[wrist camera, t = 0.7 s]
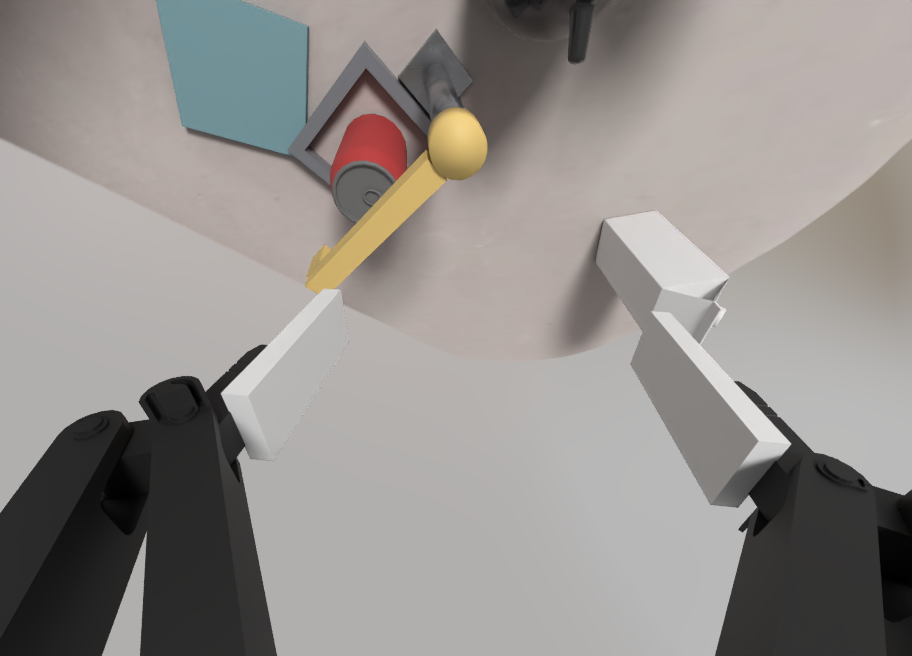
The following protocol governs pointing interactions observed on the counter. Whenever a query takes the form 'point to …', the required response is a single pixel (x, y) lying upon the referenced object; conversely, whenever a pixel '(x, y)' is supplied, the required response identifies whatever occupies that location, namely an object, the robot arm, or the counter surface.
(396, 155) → the beer can
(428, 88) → the post
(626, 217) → the milk carton
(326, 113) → the collar
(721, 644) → the robot arm
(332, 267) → the clip arm
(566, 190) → the counter surface
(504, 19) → the pump dispenser
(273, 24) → the mat
